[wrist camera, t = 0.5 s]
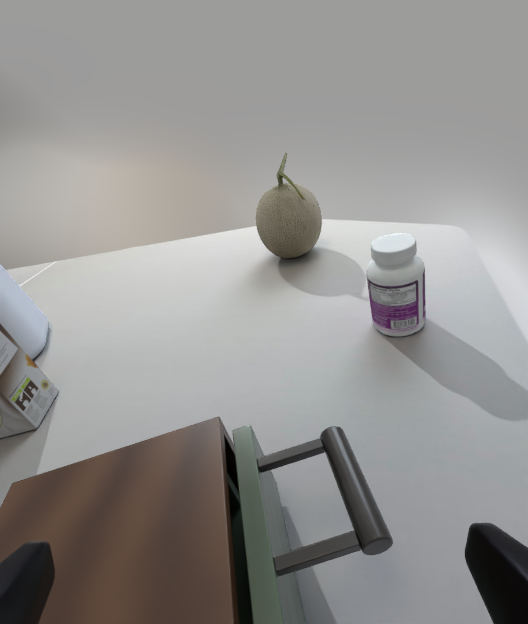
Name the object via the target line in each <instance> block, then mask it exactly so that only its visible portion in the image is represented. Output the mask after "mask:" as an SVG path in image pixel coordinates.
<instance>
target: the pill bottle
mask: <svg viewBox="0 0 528 624" xmlns="http://www.w3.org/2000/svg"><path fill="white" fill-rule="evenodd" d="M416 251H417V249H416V239H415V237H413V236H412V235H409V234H405V233H393V234H387V235H384V236H381V237H379V238H377V239H375V240H374V241H373V242H372V244H371V257H372V259H373V260H372V261H371V262H370V263H369V265H368V267H367V282H368V289H369V297H370V306H371V313H372V320H373V324H374V326H375V328H376V329H377V330H378V331H380V332H381V333H383V334H386V335H389V336H406V335H410V334H412V333H415V332H417V331H419V330H420V329H421V328H422V327H423V325H424V323H425V267H424V263H423V261H422V259H421V258H420V257H419V256H417V255H416Z"/></svg>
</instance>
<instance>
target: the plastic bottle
mask: <svg viewBox="0 0 528 624" xmlns="http://www.w3.org/2000/svg"><path fill="white" fill-rule="evenodd" d="M0 324H1V325H2V326H3V327H4V328H5V329H6V331H7V332H8V333H9V334H10V335H11V336H12V338H13V339H14V340H15V341H16V342H17V343H18V345H19V346H20V347H21V348H22V349H23V350H24V351H25V353H26V354H27V355H28V356H29V357H30V358H31V360H32V359H34V358H35V357H36V356H37V355H38V354H39V353H40V352H41V351H42V350H43V348H44V346H45V344H46V338H47V332H48V325H49V321H48V319H47V317H46V316H45V315H44V314H43V313H42V311H41V310H40V309H39V308H38V307H37V306H36V305H35V303H34V302H33V301H32V300H31V299H30V298H29V297H28V295H27V294H26V293H25V292H24V291H23V290H22V289H21V287H20V286H19V285H18V284H17V283H16V282H15V281H14V279H13V278H12V277H11V276H10V275H9V274H8V273H7V271H6V270H5V269H4V268H3V267H2V266H1V265H0Z"/></svg>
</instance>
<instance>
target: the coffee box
mask: <svg viewBox="0 0 528 624" xmlns="http://www.w3.org/2000/svg"><path fill="white" fill-rule="evenodd" d="M57 394H58V389H57V388H56V387H55V386H54V385H53V384H52V383H51V382H50V380H49V379H48V378H47V377H46V376H45V375H44V373H43V372H42V371H41V370H40V369H39V368H38V367H37V365H36V364H35V363H34V362H33V361H32V360H31V358H30V357H29V356H28V355H27V354H26V353H25V351H24V350H23V349H22V348H21V347H20V346H19V345H18V343H17V342H16V341H15V340H14V339H13V338H12V336H11V335H10V334H9V333H8V332H7V331H6V329H5V328H4V327H3V326H2V325H1V324H0V438H3V437H7V436H11V435H15V434H18V433H22V432H26V431H30V430H34V429H36V428H38V426H39V425H40V423H41V421H42V419H43V418H44V416H45V414H46V413H47V411H48V409H49V407H50V406H51V404H52V402H53V400H54V399H55V397H56V395H57Z"/></svg>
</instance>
